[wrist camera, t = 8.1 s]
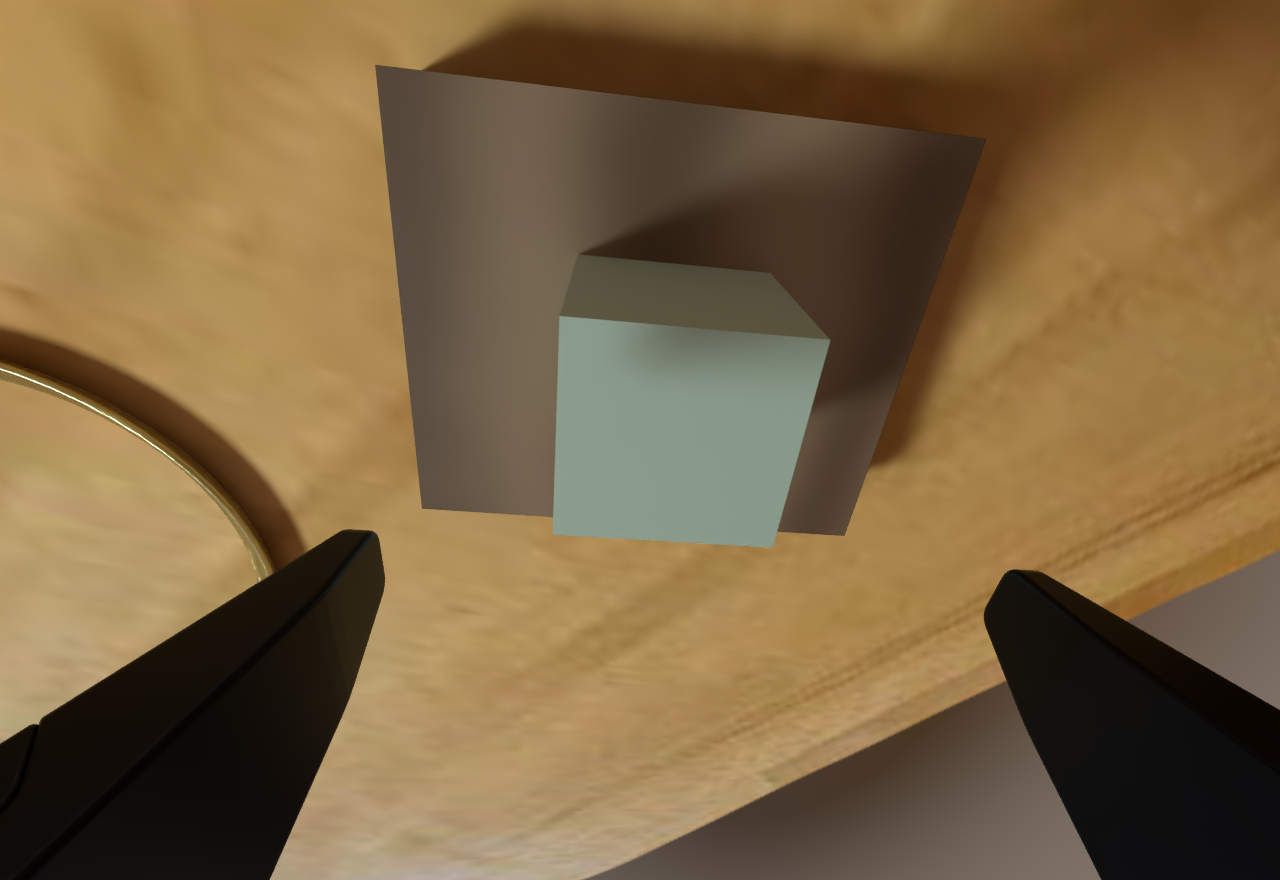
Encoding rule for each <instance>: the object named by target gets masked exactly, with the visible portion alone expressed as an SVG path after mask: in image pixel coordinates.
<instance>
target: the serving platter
mask: <svg viewBox="0 0 1280 880" xmlns="http://www.w3.org/2000/svg"><path fill="white" fill-rule="evenodd" d="M0 380H3V381H7V382H11V383H15V384H19V385H22V386H26V387H29V388H32V389H35V390H38V391H41V392H44V393H47V394H50V395H52V396H55V397H58V398H60V399H63V400H65V401H68V402H70V403H73V404H75V405H77V406H79V407H82V408H84V409H86V410H88V411H90V412H92V413H95V414H97V415H99V416H101V417H103V418H104V419H106V420H108V421H110V422H112V423H114V424H116V425H117V426H119V427H121V428H123V429H125V430H126V431H128V432H129V433H131V434H133V435H134V436H136V437H138V438H139V439H141V440H142V441H144V442H146V443H147V444H148V445H150V446H151V447H153V448H154V449H155V450H157V451H158V452H160V453H161V454H163V455H164V456H165V457H167V458H168V459H169V460H170V461H172V462H173V463H174V464H175V465H177V466H178V467H179V468H180V469H182V470H183V471H184V472H185V473H186V474H187V475H188V476H189V477H191V478H192V479H193V480H194V481H195V482H196V483H197V484H198V485H199V486H200V487H201V488H202V489H203V490H204V491H205V492H206V493H207V494H208V495H209V496H210V497H211V498H212V499H213V500H214V502H215V503H216V504H217V505H218V506H219V508H220V509H221V510H222V511H223V513H224V514H225V515H226V516H227V518H228V519H229V521H230V522H231V524H232V525H233V526H234V528H235V529H236V531H237V532H238V534H239V536H240V538H241V540H242V541H243V543H244V545H245V547H246V549H247V551H248V554H249V556H250V559H251V561H252V564H253V567H254V571H255V574H256V578H257V583H258V582H260V581H262V580H263V579H265V578H266V577H268V576H270V575H271V574H273V573H274V572H276V570H275V568H274V565H273V563H272V560H271V558H270V555H269V553H268V551H267V549H266V547H265V545H264V543H263V541H262V539H261V538H260V536H259V534H258V533H257V531H256V529H255V528H254V526H253V525H252V523H251V522H250V520H249V519H248V517H247V516H246V515H245V513H244V512H243V511H242V509H241V508H240V507H239V506H238V504H237V503H236V502H235V501H234V499H233V498H232V497H231V496H230V495H229V494H228V493H227V492H226V491H225V489H224V488H223V487H222V486H221V485H220V484H219V483H218V482H217V481H216V480H215V479H214V478H213V477H212V476H211V475H210V474H209V473H208V472H207V471H206V470H205V469H203V468H202V467H201V466H200V465H199V464H198V463H197V462H196V461H195V460H193V459H192V458H191V457H190V456H188V455H187V454H186V453H185V452H183V451H182V450H181V449H180V448H179V447H177V446H176V445H175V444H173V443H172V442H171V441H169V440H168V439H166V438H165V437H164V436H162V435H161V434H159V433H158V432H157V431H155V430H154V429H152V428H151V427H149V426H147V425H146V424H144V423H143V422H141V421H139V420H138V419H136V418H135V417H133V416H131V415H130V414H128V413H126V412H125V411H123V410H121V409H119V408H117V407H115V406H114V405H112V404H110V403H108V402H106V401H104V400H103V399H101V398H99V397H97V396H94V395H92V394H90V393H88V392H86V391H84V390H82V389H79V388H77V387H75V386H73V385H71V384H69V383H66V382H64V381H61V380H59V379H56V378H54V377H51V376H49V375H46V374H43V373H41V372H38V371H35V370H32V369H29V368H26V367H23V366H20V365H17V364H14V363H11V362H8V361H5V360H1V359H0Z"/></svg>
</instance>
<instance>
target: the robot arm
mask: <svg viewBox="0 0 1280 880" xmlns="http://www.w3.org/2000/svg"><path fill="white" fill-rule="evenodd" d="M384 586H385V573H384V567H383V561H382V554H381V548H380V542H379V538H378V536H377V534H376V533H375V532H373V531H369V530H353V529H347V530H342V531H340V532H338V533H337V534H335V535H333V536H332V537H330V538H329V539H327V540H325V541H324V542H322V543H321V544H319V545H317V546H316V547H314V548H313V549H311V550H309V551H308V552H306V553H305V554H303V555H301V556H300V557H298V558H297V559H295V560H293V561H292V562H290V563H289V564H287V565H286V566H284V567H282V568H281V569H279V570H278V571H276V572H274V573H273V574H271V575H270V576H268V577H266V578H265V579H263V580H262V581H260V582H258V583H257V584H255V585H254V586H252V587H250V588H249V589H247V590H246V591H244V592H242V593H241V594H239V595H238V596H236V597H234V598H233V599H231V600H230V601H228V602H226V603H225V604H223V605H222V606H220V607H218V608H217V609H215V610H214V611H212V612H210V613H209V614H207V615H206V616H204V617H202V618H201V619H199V620H198V621H196V622H194V623H193V624H191V625H190V626H188V627H186V628H185V629H183V630H182V631H180V632H178V633H177V634H175V635H174V636H172V637H170V638H169V639H167V640H166V641H164V642H162V643H161V644H159V645H158V646H156V647H154V648H153V649H151V650H150V651H148V652H146V653H145V654H143V655H142V656H140V657H138V658H137V659H135V660H134V661H132V662H130V663H129V664H127V665H126V666H124V667H122V668H121V669H119V670H118V671H116V672H114V673H113V674H111V675H110V676H108V677H106V678H105V679H103V680H102V681H100V682H98V683H97V684H95V685H94V686H92V687H90V688H89V689H87V690H86V691H84V692H82V693H81V694H79V695H78V696H76V697H74V698H73V699H71V700H70V701H68V702H67V703H65V704H63V705H62V706H60V707H58V708H57V709H55V710H54V711H52V712H50V713H49V714H47V715H46V716H44V717H43V718H42V719H41V720H40V722H39V725H37V724H32V725H29V726H28V727H26V728H24V729H23V730H21V731H20V732H18V733H16V734H15V735H13V736H12V737H10V738H8V739H7V740H5V741H4V742H2V743H1V744H0V880H270V878H271V875H272V873H273V871H274V869H275V866H276V864H277V862H278V860H279V857H280V855H281V853H282V851H283V848H284V846H285V844H286V842H287V839H288V837H289V835H290V833H291V830H292V828H293V826H294V824H295V821H296V819H297V817H298V815H299V812H300V810H301V808H302V806H303V803H304V801H305V799H306V797H307V794H308V792H309V790H310V788H311V785H312V783H313V781H314V779H315V776H316V774H317V772H318V770H319V767H320V765H321V763H322V761H323V758H324V756H325V754H326V752H327V749H328V747H329V745H330V743H331V740H332V738H333V736H334V734H335V731H336V729H337V727H338V724H339V722H340V720H341V718H342V715H343V713H344V710H345V708H346V706H347V703H348V701H349V698H350V695H351V692H352V689H353V687H354V684H355V681H356V678H357V674H358V671H359V668H360V665H361V662H362V659H363V655H364V652H365V649H366V646H367V643H368V640H369V636H370V633H371V630H372V627H373V624H374V621H375V618H376V614H377V611H378V608H379V605H380V602H381V599H382V595H383V592H384ZM984 622H985V626H986V629H987V632H988V634H989V637H990V639H991V642H992V644H993V647H994V650H995V652H996V655H997V657H998V660H999V662H1000V665H1001V668H1002V670H1003V673H1004V675H1005V678H1006V680H1007V683H1008V685H1009V688H1010V690H1011V693H1012V696H1013V698H1014V701H1015V703H1016V706H1017V708H1018V711H1019V713H1020V716H1021V718H1022V720H1023V723H1024V725H1025V727H1026V729H1027V731H1028V734H1029V736H1030V737H1031V740H1032V742H1033V744H1034V746H1035V748H1036V750H1037V752H1038V754H1039V756H1040V758H1041V760H1042V762H1043V764H1044V766H1045V768H1046V770H1047V772H1048V774H1049V776H1050V778H1051V780H1052V782H1053V784H1054V786H1055V788H1056V790H1057V792H1058V794H1059V796H1060V798H1061V800H1062V802H1063V804H1064V806H1065V808H1066V810H1067V812H1068V814H1069V816H1070V818H1071V820H1072V822H1073V824H1074V826H1075V828H1076V830H1077V832H1078V834H1079V836H1080V838H1081V840H1082V842H1083V844H1084V846H1085V848H1086V850H1087V852H1088V854H1089V856H1090V858H1091V860H1092V862H1093V864H1094V866H1095V868H1096V870H1097V872H1098V874H1099V876H1100V878H1101V880H1280V710H1279V709H1277V708H1275V707H1274V706H1272V705H1270V704H1269V703H1267V702H1265V701H1263V700H1262V699H1260V698H1258V697H1256V696H1255V695H1253V694H1251V693H1250V692H1248V691H1246V690H1244V689H1242V688H1241V687H1239V686H1237V685H1236V684H1234V683H1232V682H1230V681H1229V680H1227V679H1225V678H1224V677H1222V676H1220V675H1218V674H1217V673H1215V672H1213V671H1211V670H1210V669H1208V668H1206V667H1205V666H1203V665H1201V664H1199V663H1198V662H1196V661H1194V660H1192V659H1191V658H1189V657H1187V656H1186V655H1184V654H1182V653H1180V652H1178V651H1177V650H1175V649H1174V648H1172V647H1170V646H1168V645H1167V644H1165V643H1163V642H1161V641H1160V640H1158V639H1156V638H1155V637H1153V636H1151V635H1149V634H1147V633H1146V632H1144V631H1142V630H1141V629H1139V628H1137V627H1135V626H1134V625H1132V624H1130V623H1129V622H1127V621H1125V620H1123V619H1122V618H1120V617H1118V616H1117V615H1115V614H1113V613H1111V612H1110V611H1108V610H1106V609H1104V608H1103V607H1101V606H1099V605H1098V604H1096V603H1094V602H1092V601H1091V600H1089V599H1087V598H1085V597H1084V596H1082V595H1080V594H1079V593H1077V592H1075V591H1073V590H1072V589H1070V588H1068V587H1066V586H1065V585H1063V584H1061V583H1060V582H1058V581H1056V580H1054V579H1053V578H1051V577H1049V576H1047V575H1046V574H1044V573H1042V572H1039V571H1034V570H1017V569H1014V570H1009V571H1008V572H1007V573H1005V574H1004V575H1003V577H1002V579H1001V580H1000V582H999V584H998V586H997V588H996V589H995V591H994V593H993V595H992V597H991V598H990V600H989V602H988V604H987V606H986V608H985V611H984Z"/></svg>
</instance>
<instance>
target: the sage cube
mask: <svg viewBox="0 0 1280 880" xmlns="http://www.w3.org/2000/svg"><path fill="white" fill-rule="evenodd" d="M829 343H830V339H829V338H828V337H827V336H826V334H825V333H824V332H823V331H822V330H821V329H820V328H819V327H818V326H817V324H816V323H815V322H814V321H813V320H812V319H811V318H810V317H809V316H808V314H807V313H806V312H805V311H804V310H803V309H802V308H801V307H800V306H799V304H798V303H797V302H796V301H795V300H794V299H793V298H792V297H791V296H790V294H789V293H788V292H787V291H786V290H785V289H784V288H783V287H782V286H781V284H780V283H779V282H778V281H777V280H776V279H775V278H774V277H773V276H772V274H771V273H766V272H756V271H745V270H735V269H725V268H714V267H704V266H694V265H683V264H673V263H662V262H652V261H642V260H631V259H621V258H610V257H600V256H590V255H579V254H578V255H577V259H576V262H575V266H574V269H573V272H572V276H571V279H570V282H569V286H568V289H567V292H566V296H565V299H564V303H563V306H562V309H561V313H560V316H559V347H558V379H557V411H556V443H555V475H554V506H553V534H555V535H572V536H588V537H605V538H622V539H638V540H655V541H672V542H688V543H705V544H722V545H738V546H755V547H772V548H773V545H774V541H775V537H776V534H777V530H778V527H779V523H780V520H781V516H782V512H783V509H784V505H785V502H786V498H787V494H788V491H789V487H790V484H791V480H792V476H793V473H794V469H795V466H796V462H797V458H798V455H799V451H800V448H801V444H802V440H803V437H804V433H805V430H806V426H807V422H808V419H809V415H810V412H811V408H812V404H813V401H814V397H815V394H816V390H817V386H818V383H819V379H820V376H821V372H822V368H823V365H824V361H825V358H826V354H827V350H828V347H829Z"/></svg>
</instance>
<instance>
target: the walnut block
mask: <svg viewBox="0 0 1280 880" xmlns="http://www.w3.org/2000/svg"><path fill="white" fill-rule="evenodd" d="M375 67H376V76H377V86H378V95H379V105H380V114H381V124H382V133H383V143H384V152H385V162H386V171H387V181H388V190H389V200H390V209H391V219H392V228H393V238H394V247H395V257H396V266H397V275H398V285H399V294H400V304H401V313H402V323H403V332H404V342H405V351H406V361H407V370H408V380H409V389H410V399H411V408H412V418H413V427H414V437H415V446H416V455H417V465H418V474H419V484H420V493H421V503H422V509H437V510H453V511H468V512H484V513H499V514H515V515H530V516H546V517H553V506H554V475H555V443H556V411H557V379H558V347H559V316H560V313H561V309H562V306H563V303H564V299H565V296H566V292H567V289H568V286H569V282H570V279H571V276H572V272H573V269H574V266H575V262H576V259H577V255H578V254H579V255H590V256H600V257H610V258H621V259H631V260H642V261H652V262H662V263H673V264H683V265H694V266H704V267H714V268H725V269H735V270H745V271H756V272H766V273H771V274H772V276H773V277H774V278H775V279H776V280H777V281H778V282H779V283H780V284H781V286H782V287H783V288H784V289H785V290H786V291H787V292H788V293H789V294H790V296H791V297H792V298H793V299H794V300H795V301H796V302H797V303H798V304H799V306H800V307H801V308H802V309H803V310H804V311H805V312H806V313H807V314H808V316H809V317H810V318H811V319H812V320H813V321H814V322H815V323H816V324H817V326H818V327H819V328H820V329H821V330H822V331H823V332H824V333H825V334H826V336H827V337H828V338H829V339H830V343H829V347H828V350H827V354H826V358H825V361H824V365H823V368H822V372H821V376H820V379H819V383H818V386H817V390H816V394H815V397H814V401H813V404H812V408H811V412H810V415H809V419H808V422H807V426H806V430H805V433H804V437H803V440H802V444H801V448H800V451H799V455H798V458H797V462H796V466H795V469H794V473H793V476H792V480H791V484H790V487H789V491H788V494H787V498H786V502H785V505H784V509H783V512H782V516H781V520H780V523H779V527H778V530H777V531H778V532H793V533H809V534H824V535H840V536H845V533H846V530H847V527H848V524H849V522H850V519H851V516H852V513H853V510H854V508H855V505H856V502H857V499H858V496H859V494H860V491H861V488H862V485H863V482H864V480H865V477H866V474H867V471H868V468H869V466H870V463H871V460H872V457H873V454H874V452H875V449H876V446H877V443H878V440H879V438H880V435H881V432H882V429H883V426H884V424H885V421H886V418H887V415H888V412H889V410H890V407H891V404H892V401H893V398H894V396H895V393H896V390H897V387H898V384H899V382H900V379H901V376H902V373H903V370H904V368H905V365H906V362H907V359H908V356H909V354H910V351H911V348H912V345H913V342H914V340H915V337H916V334H917V331H918V328H919V326H920V323H921V320H922V317H923V314H924V312H925V309H926V306H927V303H928V300H929V298H930V295H931V292H932V289H933V287H934V284H935V281H936V278H937V275H938V273H939V270H940V267H941V264H942V261H943V259H944V256H945V253H946V250H947V247H948V245H949V242H950V239H951V236H952V233H953V231H954V228H955V225H956V222H957V219H958V217H959V214H960V211H961V208H962V205H963V203H964V200H965V197H966V194H967V191H968V189H969V186H970V183H971V180H972V177H973V175H974V172H975V169H976V166H977V163H978V161H979V158H980V155H981V152H982V149H983V147H984V144H985V141H986V139H984V138H976V137H968V136H959V135H951V134H943V133H934V132H926V131H918V130H910V129H901V128H893V127H885V126H877V125H868V124H860V123H852V122H843V121H835V120H827V119H819V118H810V117H802V116H794V115H786V114H777V113H769V112H761V111H753V110H744V109H736V108H728V107H719V106H711V105H703V104H695V103H686V102H678V101H670V100H662V99H653V98H645V97H637V96H628V95H620V94H612V93H604V92H595V91H587V90H579V89H571V88H562V87H554V86H546V85H538V84H529V83H521V82H513V81H504V80H496V79H488V78H480V77H471V76H463V75H455V74H447V73H438V72H430V71H422V70H413V69H405V68H397V67H389V66H380V65H375Z"/></svg>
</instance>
